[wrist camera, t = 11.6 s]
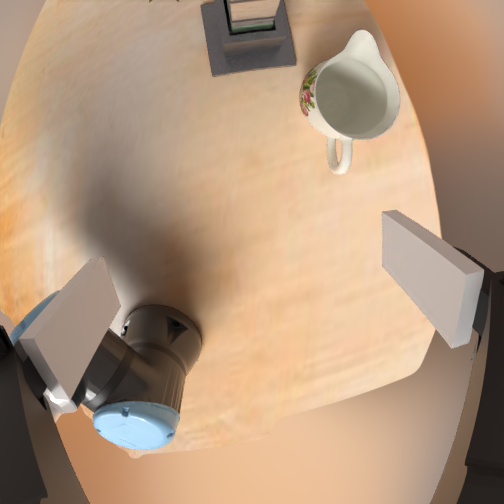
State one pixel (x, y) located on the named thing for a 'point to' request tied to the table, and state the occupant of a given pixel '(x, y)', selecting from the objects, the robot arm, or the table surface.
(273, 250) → the table surface
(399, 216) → the robot arm
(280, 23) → the stand
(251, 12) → the column
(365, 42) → the pitcher
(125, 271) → the table surface
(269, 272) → the table surface
